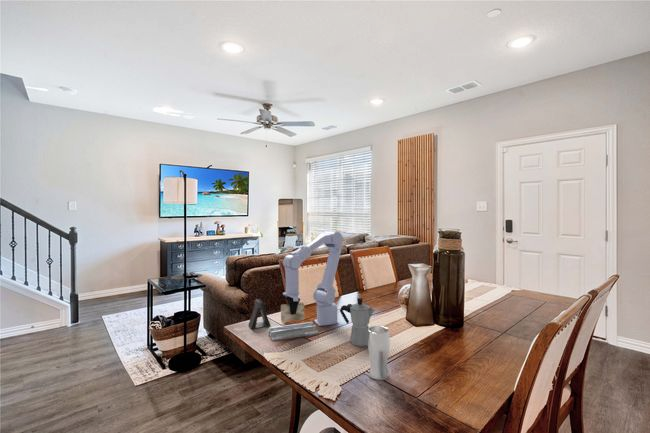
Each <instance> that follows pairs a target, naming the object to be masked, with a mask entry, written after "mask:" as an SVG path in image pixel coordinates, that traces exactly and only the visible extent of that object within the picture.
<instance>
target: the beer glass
mask: <svg viewBox="0 0 650 433" xmlns="http://www.w3.org/2000/svg"><path fill="white" fill-rule="evenodd" d="M368 327H369V328H368V346H367V349H368V355H369V361H370V367H369V368H370V369H369V372H368V374H369V377H370V378H371V379H374V380H376V381H385V380H387V379H389V371H388V361H389V360H388V359H389V352H390V333H389V330H390V329H389V328H388V327H385V326H382V325H371V326H368Z"/></svg>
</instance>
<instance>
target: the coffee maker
mask: <svg viewBox="0 0 650 433" xmlns="http://www.w3.org/2000/svg"><path fill="white" fill-rule="evenodd" d="M363 300H364V299H363V298H362V297H358V298H357V303H355V304H351V303H348V304H347V305H346V304H345V305H342V306H341V307H340V309H339V313H340V315H341V316H342V317H343V319H344V321H345V323H346V325H347V324H349V323H350V320H349V318H348V317H347V315H346V313H345V312H347V313H349V314H350V319H351V322H352V326H351V330H350V338H349V344H351V345H352V346H354V347H359V348H365V347H368V328H369V327H370V326H369V324H370V319H371V318H372V315H373V313H374V312H375V311H376V309H375V308H372V307H370V305H368V304H364V303H363ZM344 311H345V312H344Z"/></svg>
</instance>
